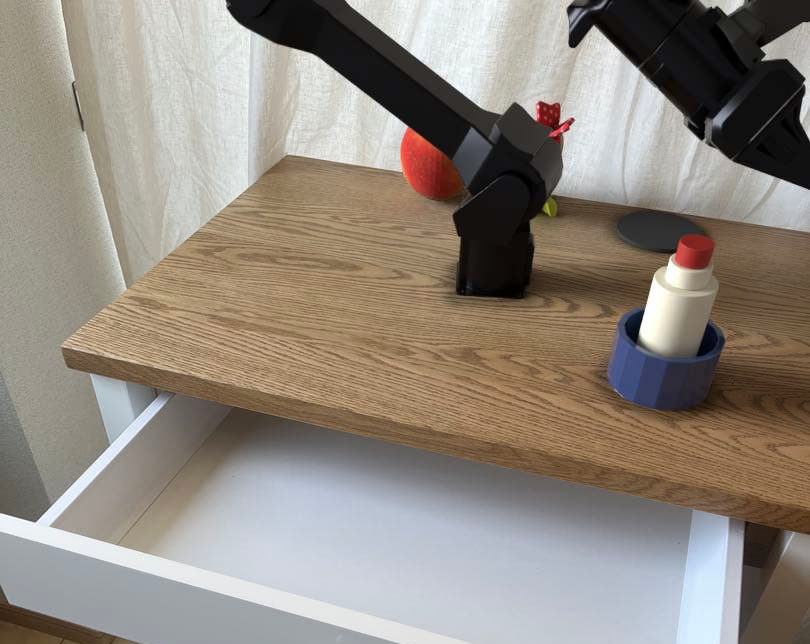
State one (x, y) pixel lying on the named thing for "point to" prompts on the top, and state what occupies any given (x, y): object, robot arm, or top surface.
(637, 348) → the cup
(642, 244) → the coaster
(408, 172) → the apple
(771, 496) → the top surface
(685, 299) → the cream cylinder
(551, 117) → the bird rattle
